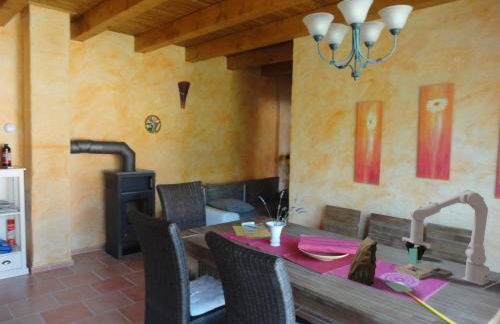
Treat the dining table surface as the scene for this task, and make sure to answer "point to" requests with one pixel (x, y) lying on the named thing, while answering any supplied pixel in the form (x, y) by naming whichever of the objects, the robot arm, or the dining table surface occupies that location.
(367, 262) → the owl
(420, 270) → the port
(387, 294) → the dining table surface
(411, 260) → the mint green block
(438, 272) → the dark brown square tray
